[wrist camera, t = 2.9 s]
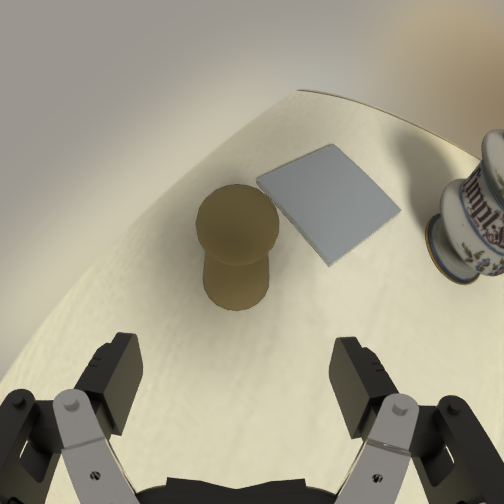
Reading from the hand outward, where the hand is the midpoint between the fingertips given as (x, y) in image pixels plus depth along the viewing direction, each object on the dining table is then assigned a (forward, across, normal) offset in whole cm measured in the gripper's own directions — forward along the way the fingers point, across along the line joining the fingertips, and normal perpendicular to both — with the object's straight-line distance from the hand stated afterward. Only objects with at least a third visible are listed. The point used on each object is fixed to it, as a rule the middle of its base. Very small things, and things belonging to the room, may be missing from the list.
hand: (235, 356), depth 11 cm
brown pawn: (+15, 0, +4) cm, 16 cm away
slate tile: (+22, -10, -4) cm, 25 cm away
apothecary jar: (+18, -27, +1) cm, 32 cm away
